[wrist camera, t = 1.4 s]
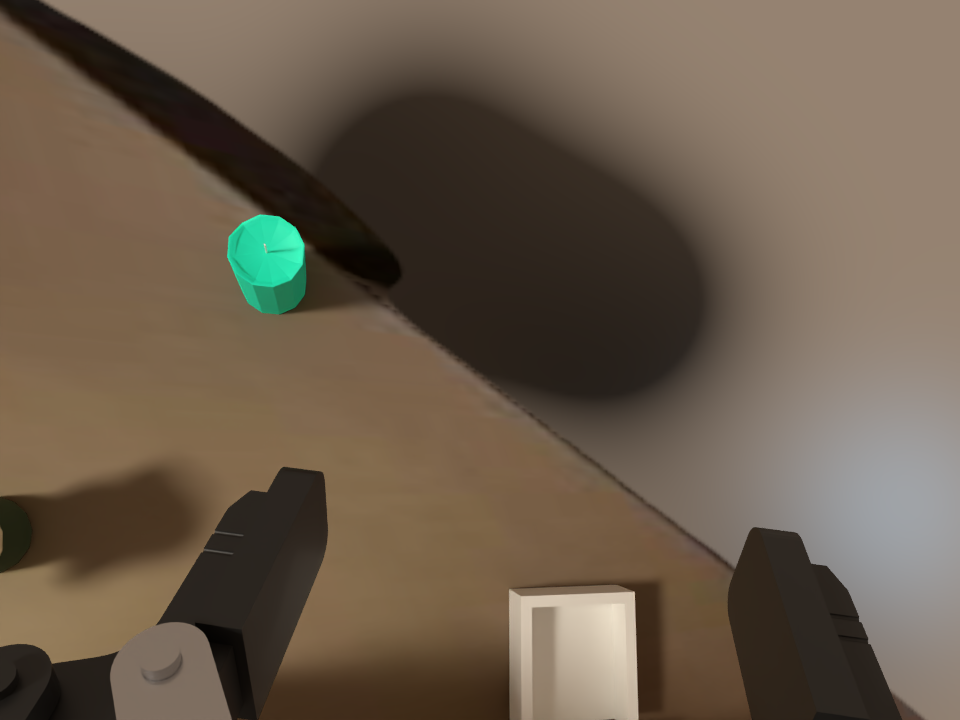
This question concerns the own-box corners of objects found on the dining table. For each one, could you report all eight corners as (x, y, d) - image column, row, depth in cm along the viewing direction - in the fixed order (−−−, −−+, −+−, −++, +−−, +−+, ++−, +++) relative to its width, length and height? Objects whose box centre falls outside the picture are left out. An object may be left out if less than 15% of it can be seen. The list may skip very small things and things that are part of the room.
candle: (300, 248, 66) (297, 202, 55) (312, 309, 66) (311, 276, 54) (235, 257, 65) (217, 212, 53) (246, 319, 64) (231, 287, 53)
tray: (620, 714, 67) (638, 729, 63) (509, 723, 64) (521, 739, 61) (616, 584, 69) (634, 591, 65) (509, 588, 66) (521, 596, 62)
